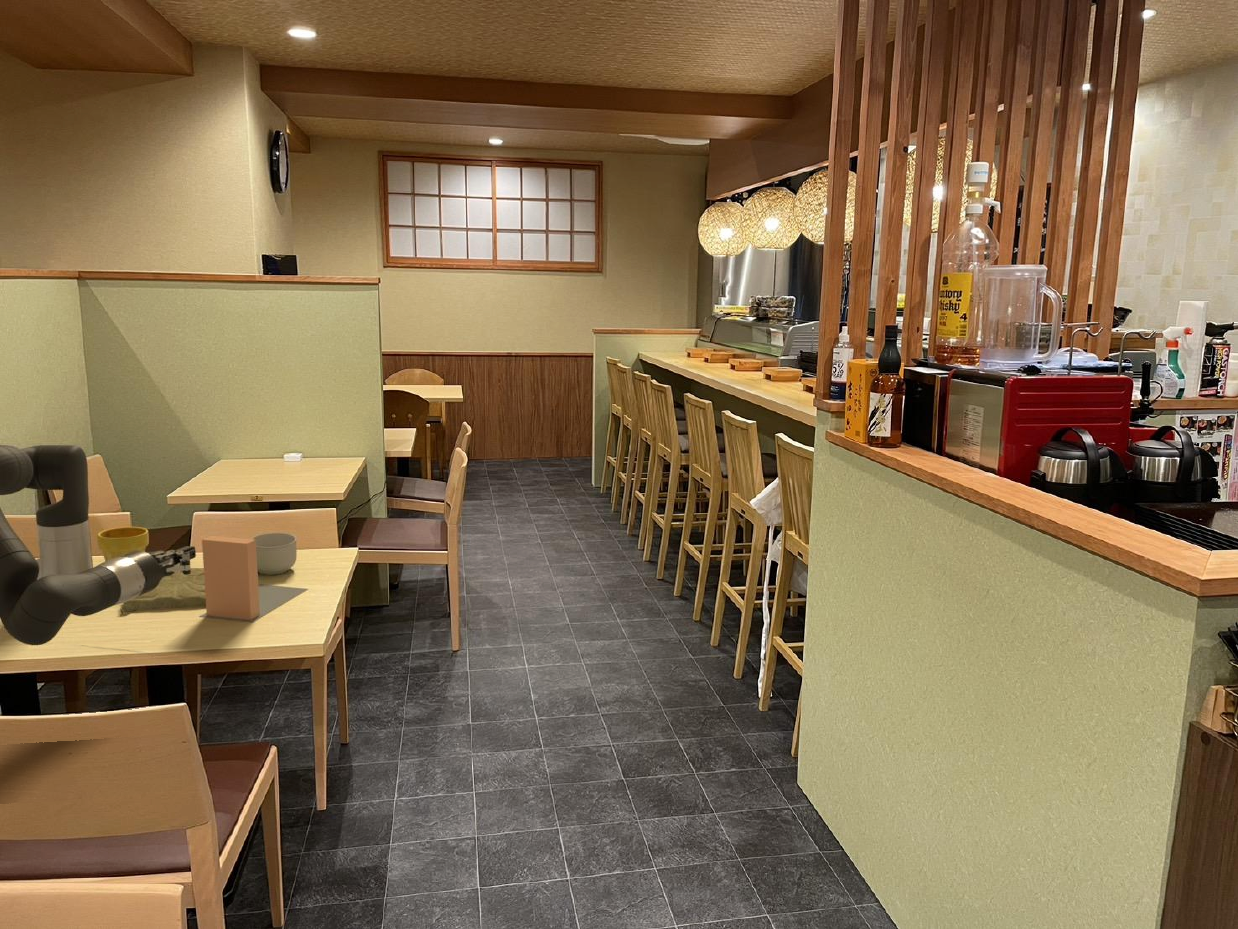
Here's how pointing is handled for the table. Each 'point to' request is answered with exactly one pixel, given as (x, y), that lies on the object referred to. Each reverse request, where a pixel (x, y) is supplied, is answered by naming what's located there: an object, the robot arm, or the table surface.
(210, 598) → the terracotta tile
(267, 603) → the rubber mat
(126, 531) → the plant pot
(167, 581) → the decorative tile
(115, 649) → the table surface
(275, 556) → the teacup
